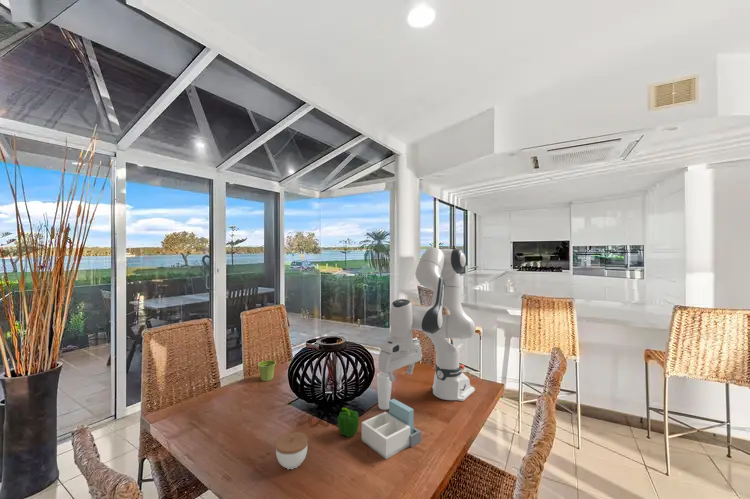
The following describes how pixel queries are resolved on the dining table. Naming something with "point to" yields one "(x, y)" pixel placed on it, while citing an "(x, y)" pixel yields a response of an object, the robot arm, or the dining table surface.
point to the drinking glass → (383, 390)
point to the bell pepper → (348, 422)
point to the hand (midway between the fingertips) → (401, 377)
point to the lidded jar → (291, 449)
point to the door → (402, 413)
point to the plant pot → (266, 369)
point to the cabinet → (388, 435)
